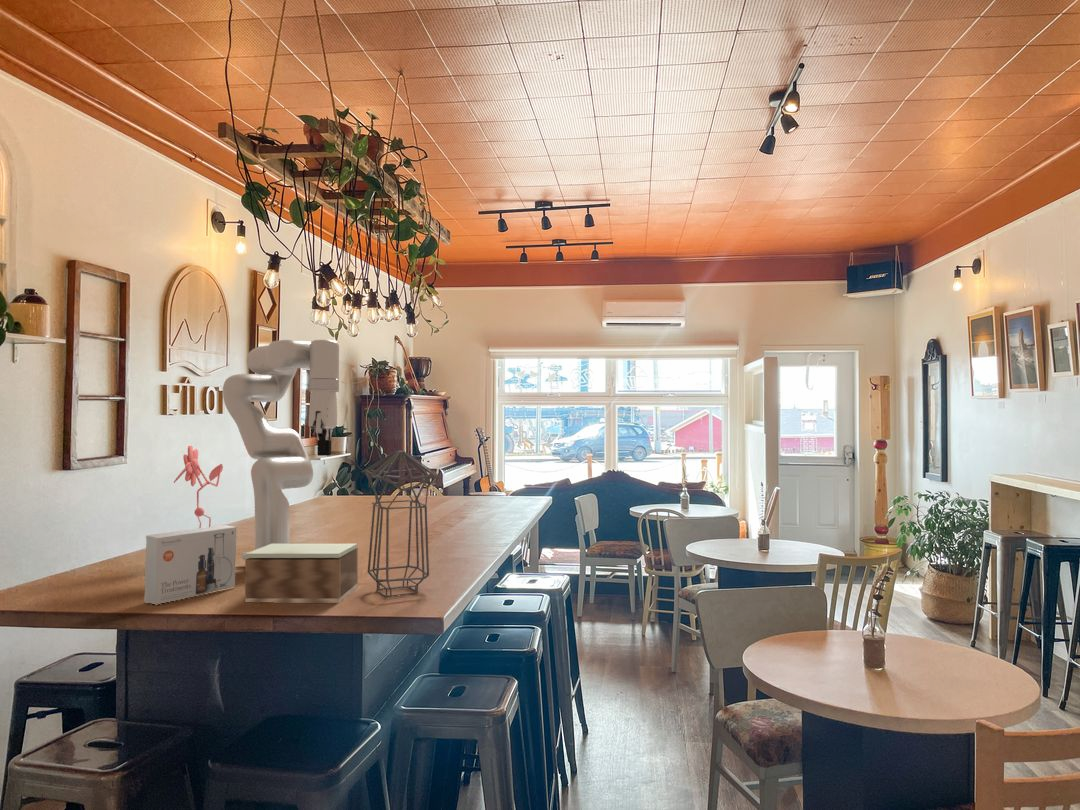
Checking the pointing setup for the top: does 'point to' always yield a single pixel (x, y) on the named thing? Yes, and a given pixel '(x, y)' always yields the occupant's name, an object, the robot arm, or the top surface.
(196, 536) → the skincare box
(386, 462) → the geometric lantern
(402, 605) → the top surface
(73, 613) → the top surface
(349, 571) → the walnut box
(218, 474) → the figurine
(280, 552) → the lid
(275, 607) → the top surface
